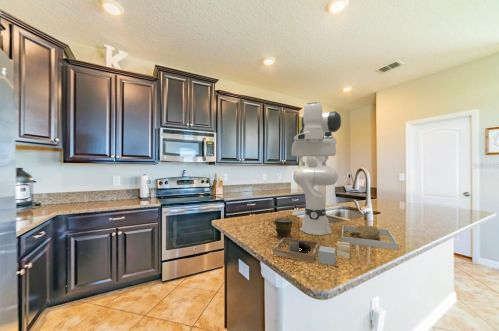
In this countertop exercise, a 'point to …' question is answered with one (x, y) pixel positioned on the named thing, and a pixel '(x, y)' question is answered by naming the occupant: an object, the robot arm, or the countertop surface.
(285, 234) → the ceramic cup
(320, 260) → the slate block
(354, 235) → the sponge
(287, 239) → the oak cake frame
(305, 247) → the chocolate cake
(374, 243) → the grey square frame
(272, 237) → the countertop surface
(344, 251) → the maple block
